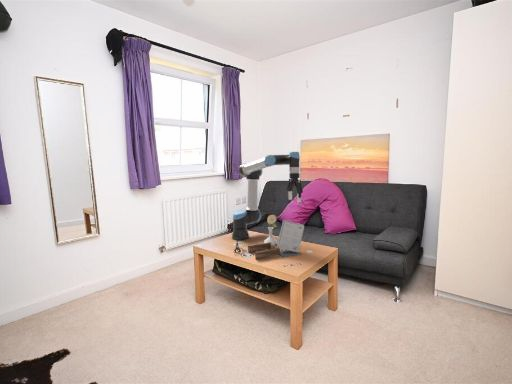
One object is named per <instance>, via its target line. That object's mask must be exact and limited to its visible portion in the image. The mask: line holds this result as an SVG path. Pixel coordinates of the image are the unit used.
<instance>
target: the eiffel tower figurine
mask: <svg viewBox="0 0 512 384" xmlns="http://www.w3.org/2000/svg"><path fill="white" fill-rule="evenodd" d="M238 241H239V240H236V244H235V248H234V250H233V254H237V253H236V250H237V251H238V250H239V251H238V252H241V250H242V253H241V254H243V253H246V252H247V253H248V249H244V248H243V247H240V246H239V244H238V243H239V242H238ZM234 251H235V252H234Z"/></svg>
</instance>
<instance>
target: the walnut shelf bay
mask: <svg viewBox="0 0 512 384" xmlns="http://www.w3.org/2000/svg"><path fill="white" fill-rule="evenodd" d="M280 250H281V248H278V247H277V245H276V244H275V245H274V244H272V243H271V242H270V243H264V242H263V243H258V244H257V243H256V244H250V245H247V253H254V256H255V260H256V261H257V260H262V259H268V258H274V257H279V256H281V255H280Z"/></svg>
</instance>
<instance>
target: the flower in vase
mask: <svg viewBox="0 0 512 384" xmlns="http://www.w3.org/2000/svg"><path fill="white" fill-rule="evenodd" d="M266 219H267V220H266V221H267V224H268V225H269V226H268V227H267V229H268V233H269V234H268V237H267V238H266V239H264V241H263V243H270V242H271V243H272V244H274V245H275V246H276V245H277V243H278V240H277V239H276V238H275V237H274V236H273V229H274V228H277V227H278V226H277V224H276V222H277V216H276V214H275V215H274V214H270V215H268V216H267V218H266Z"/></svg>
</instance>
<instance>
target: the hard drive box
mask: <svg viewBox="0 0 512 384" xmlns="http://www.w3.org/2000/svg"><path fill="white" fill-rule="evenodd" d="M304 229H305V225H304V224H302V223H299V222H293V221H290V220H284V219H283V220H282V223H281V228H280V230H279V234H278V235H279V236H278V240H277V241H278V243H277V244H276V247H278V248H279V249H280V250H290V251H293V252H299V253H300V246H301V242H302V238H303V235H304Z"/></svg>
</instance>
